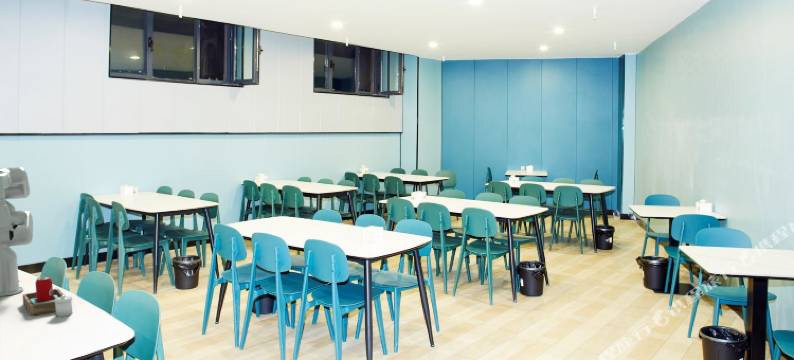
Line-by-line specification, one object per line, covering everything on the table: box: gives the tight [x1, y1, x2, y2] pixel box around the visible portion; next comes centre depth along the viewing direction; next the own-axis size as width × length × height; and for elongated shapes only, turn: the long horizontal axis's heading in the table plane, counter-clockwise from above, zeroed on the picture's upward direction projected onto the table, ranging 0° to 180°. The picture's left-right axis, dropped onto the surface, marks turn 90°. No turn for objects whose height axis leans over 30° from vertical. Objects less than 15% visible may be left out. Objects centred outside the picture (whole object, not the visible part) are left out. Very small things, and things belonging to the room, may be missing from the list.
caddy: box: [22, 288, 66, 317], centre depth 258 cm, size 22×14×4 cm, turn 40°
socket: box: [30, 295, 59, 305], centre depth 258 cm, size 10×10×2 cm
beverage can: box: [35, 276, 54, 303], centre depth 258 cm, size 6×6×12 cm
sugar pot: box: [54, 294, 73, 318], centre depth 247 cm, size 7×7×8 cm
